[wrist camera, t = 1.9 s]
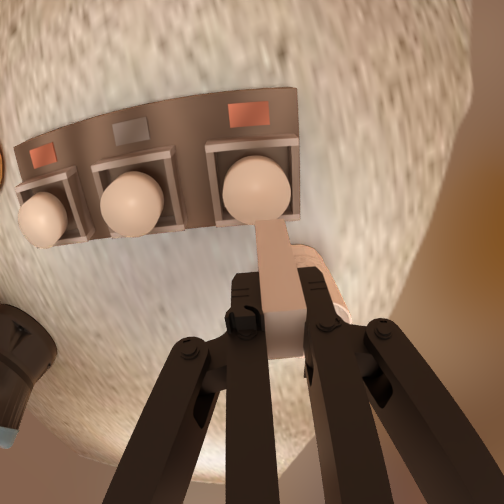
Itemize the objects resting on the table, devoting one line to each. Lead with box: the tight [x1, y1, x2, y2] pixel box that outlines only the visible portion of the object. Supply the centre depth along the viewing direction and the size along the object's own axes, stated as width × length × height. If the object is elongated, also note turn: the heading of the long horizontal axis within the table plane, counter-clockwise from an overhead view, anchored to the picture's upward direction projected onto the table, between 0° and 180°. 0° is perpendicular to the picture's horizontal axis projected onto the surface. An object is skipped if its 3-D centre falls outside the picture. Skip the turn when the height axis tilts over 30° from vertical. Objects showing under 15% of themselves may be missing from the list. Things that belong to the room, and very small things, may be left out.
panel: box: [14, 87, 300, 249], centre depth 25 cm, size 28×12×5 cm, turn 94°
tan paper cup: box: [291, 244, 352, 358], centre depth 30 cm, size 8×8×10 cm
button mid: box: [100, 171, 164, 237], centre depth 22 cm, size 5×5×2 cm
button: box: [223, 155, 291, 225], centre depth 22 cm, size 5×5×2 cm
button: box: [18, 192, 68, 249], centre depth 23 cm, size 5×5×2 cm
